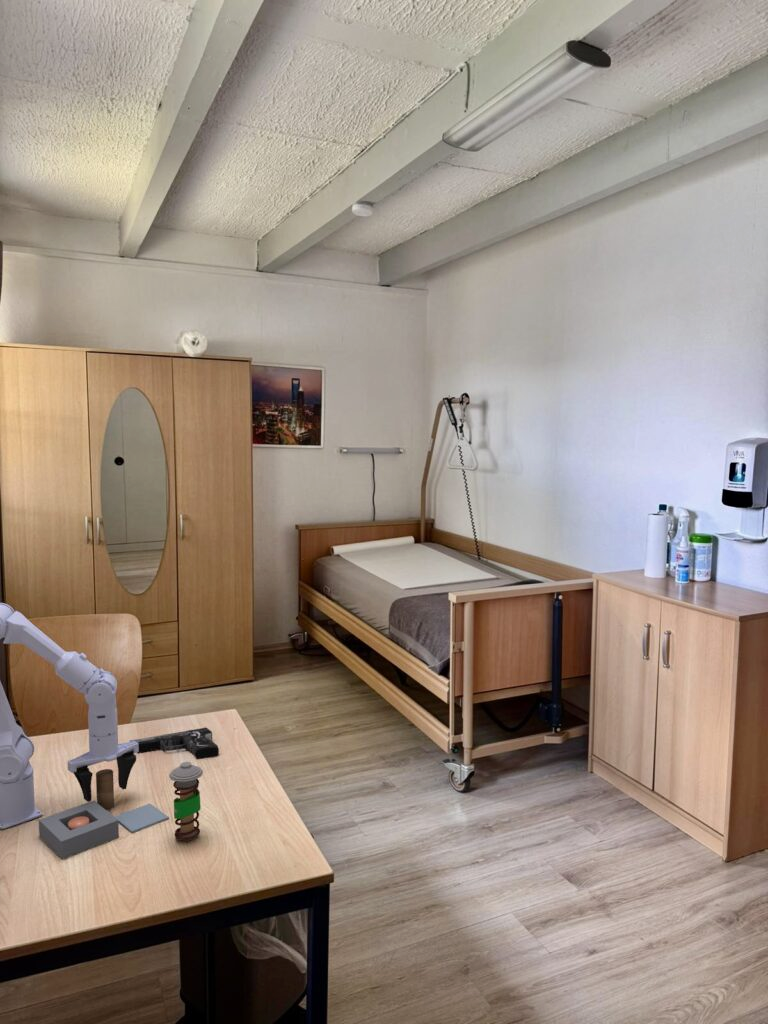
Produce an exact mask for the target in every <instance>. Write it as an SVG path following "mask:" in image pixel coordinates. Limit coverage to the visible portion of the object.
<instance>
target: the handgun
mask: <svg viewBox="0 0 768 1024" xmlns="http://www.w3.org/2000/svg"><path fill="white" fill-rule="evenodd" d="M132 741H135V742H137V743H138V746H139V752H137V754H140V753H144V752H145V753H148V752H152V751H159V750H161V751H163V750H164V751H165V752H166V751H168V752H171V751H179V750H186V751H189V752H190V751H191V753H192V754H193V755H194V757H195V759H196V760H201V759H207V758H216V757H219V754H220V749H219V746H218V745H217V744H216V743H215V742H214V741H213V732H212V731H211V729H209V728H207V727H202V728H201V727H200V728H195V729H188V730H183V731H178V732H172V733H165V734H159V735H154V736H150V737H143V738H137V739H131V740H129V742H132Z"/></svg>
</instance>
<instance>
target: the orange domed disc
mask: <svg viewBox="0 0 768 1024" xmlns="http://www.w3.org/2000/svg"><path fill="white" fill-rule="evenodd" d="M86 824H89V818H88V817H84V816H81V817H76V818H73V819H71V820H70V821H69V822H68V829H69V830H73V829H76V828H78V827H81V826H84V825H86Z"/></svg>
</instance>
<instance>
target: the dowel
mask: <svg viewBox="0 0 768 1024" xmlns="http://www.w3.org/2000/svg"><path fill="white" fill-rule="evenodd" d="M95 782H96V783H95V784H96V785H95V787H96V789H95V790H96V803H98V804H99V805H100V806H101V807H103V808H104V809H105V810H106V811H108V810H111V809H113V808H114V807H115V795H114V794H115V792H114V789H115V787H114V784H115V783H114V770H113V769H110V768H105V769H101V770H98V771H96V773H95Z"/></svg>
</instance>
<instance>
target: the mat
mask: <svg viewBox="0 0 768 1024" xmlns="http://www.w3.org/2000/svg"><path fill="white" fill-rule="evenodd" d="M113 816H114V815H113ZM114 817H115V818H116V819H118V824H120V825H121V826H123V828H125V829H126V830H127V831H129V832H130V833H131V834H134V833H136V832H140V831H141V830H144V829H147V828H149V827H152V826H154V825H156V824H160V823H162V822H164V821H166V820H169V819H170V816H169V815H167V814H165V813H164V812H162V810H160V809H159V808H157V807H156V806H155V805H154V804H152V803H147V804H144V805H142V806H139V807H136V808H133V809H131V810H128V811H126V812H124V813H120V814H116V815H115V816H114Z"/></svg>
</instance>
